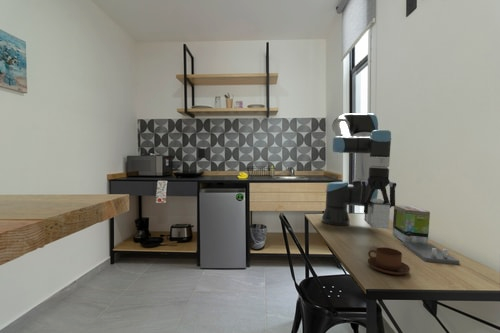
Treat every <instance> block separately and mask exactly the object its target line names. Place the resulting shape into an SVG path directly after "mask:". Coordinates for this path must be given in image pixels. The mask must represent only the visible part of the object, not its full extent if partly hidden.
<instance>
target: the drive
mask: <svg viewBox="0 0 500 333" xmlns="http://www.w3.org/2000/svg"><path fill="white" fill-rule="evenodd" d="M389 203H390V202H389ZM389 203H387V202H385V201H384V199H381V198H377V199H372V198H371V200H370V203H369V205H368V206H370V220H369V222H367V221H366V214H365V213H364V219H363V220H364V221H365V223H367V224H368V225H369V226H370V227H371V228H373V229H387V230H389V229H390V228H389V227H390V214H391V213H390V210H391V208H390V204H389Z"/></svg>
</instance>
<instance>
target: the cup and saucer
mask: <svg viewBox="0 0 500 333" xmlns="http://www.w3.org/2000/svg"><path fill="white" fill-rule="evenodd" d="M371 253H374V254H375V256H372V255H371ZM367 255H368V257H369V258H368V259H367V263H368V265H369V266H370V267H371V268H373V269H374V270H377V271H378V272H381V273H385V274H387V275H388V274H389V275H395V276H397V275H399V276H400V275H406V274H408V273H409V272H410V270H411V268H410V266H409V265H407V264H406V263H404V262H402V259H403V258H402V257H403V253H402V251H400V250H397V249H395V248H391V247H385V246H384V247H383V246H380V247H377V248H375V249H370V250H369V251H368V253H367Z"/></svg>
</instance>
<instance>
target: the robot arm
mask: <svg viewBox="0 0 500 333" xmlns="http://www.w3.org/2000/svg"><path fill="white" fill-rule="evenodd" d="M331 129H332V131H333V132H334V137H333V138H332V152H333V153H339V154H346V153H347V154H354V155H355V156H354V157H355V158H354V160H355V161H354V163H355V164H354V178H353V180H352V181H351V184H349V181H333V182H329V183H327V184H326V190H325V194H326V195H325V209H324V212H323V213H322V216H321V222H323V223H325V224H327V225H328V224H329V225H331V226H332V225H333V226H349V225H350V223H351V220H350V215H349V213H348V206H357V207H358V206H359V207H363V213H364V215H365V214H366V221H367V222H369V220H370V206H368V205H369V203H370V200H371V198H372V199H378V194H379V190H380V192H381V195H382V198H383V199H382V200H383V201H385V202H387V203H389V204H390V209H392V207H393V208H394V206H395V205H396V187H397V183H396V182H393V181H390V179H389V177H390V168H389V167H390V161H391V160H390V159H391V144H392V143H391V142H392V132H391V130H389V129H379V121H378V118H377V115H376V114H375V113H371V112H370V113H369V112H366V113H365V112H364V113H362V112H361V113H358V112H357V113H355V112H353V113H348V112H347V113H343V114H340V115H339V116H337V117H336V118H335V119H334V120H333V122H332V125H331ZM388 186H389V196H388V193H387V187H388ZM366 221H365V222H366ZM367 222H366V223H367ZM348 224H349V225H348Z"/></svg>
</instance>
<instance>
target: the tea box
mask: <svg viewBox="0 0 500 333" xmlns="http://www.w3.org/2000/svg"><path fill="white" fill-rule="evenodd" d="M430 218H431V213H430V211H429V210H427V209H426V210H425V209H423V208H420V207H417V206H411V205H399V204H395V206H394V207H393V218H392V235H393V236H395V238H397V239H399V240H400V241H402V243H403V242H412V236H415V237H416V243H421V242H422V237H425V238H426V243H425V244H429V231H430V221H431V220H430Z"/></svg>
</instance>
